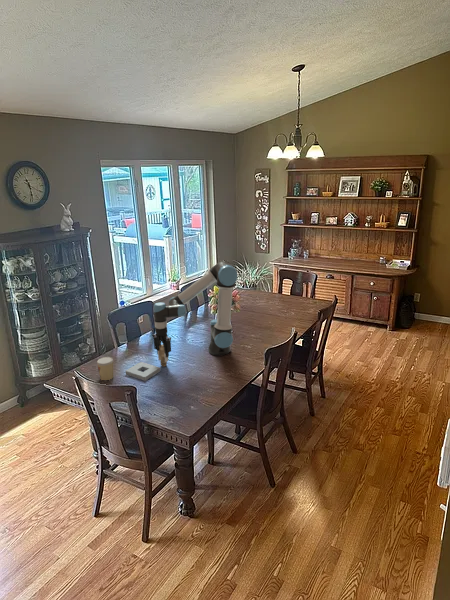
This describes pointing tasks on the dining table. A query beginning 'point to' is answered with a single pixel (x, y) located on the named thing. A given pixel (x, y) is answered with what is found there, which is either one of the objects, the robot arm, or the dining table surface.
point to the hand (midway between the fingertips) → (163, 360)
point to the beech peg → (162, 356)
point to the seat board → (145, 375)
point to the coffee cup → (105, 368)
